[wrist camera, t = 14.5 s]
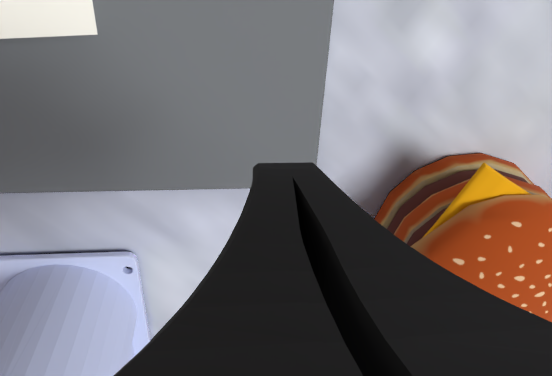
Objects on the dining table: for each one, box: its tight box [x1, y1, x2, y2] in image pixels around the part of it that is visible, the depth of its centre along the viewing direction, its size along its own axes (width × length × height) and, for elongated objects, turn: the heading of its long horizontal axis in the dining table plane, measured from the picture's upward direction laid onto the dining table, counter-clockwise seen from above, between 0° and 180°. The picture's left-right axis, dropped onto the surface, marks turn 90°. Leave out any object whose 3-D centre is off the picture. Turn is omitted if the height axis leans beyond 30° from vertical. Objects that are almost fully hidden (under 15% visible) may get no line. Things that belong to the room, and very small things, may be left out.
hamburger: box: [374, 153, 552, 322], centre depth 22 cm, size 9×10×7 cm
